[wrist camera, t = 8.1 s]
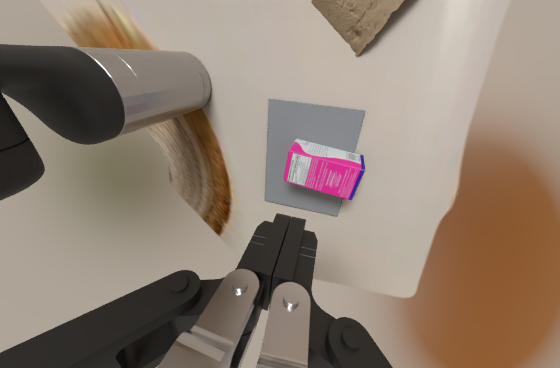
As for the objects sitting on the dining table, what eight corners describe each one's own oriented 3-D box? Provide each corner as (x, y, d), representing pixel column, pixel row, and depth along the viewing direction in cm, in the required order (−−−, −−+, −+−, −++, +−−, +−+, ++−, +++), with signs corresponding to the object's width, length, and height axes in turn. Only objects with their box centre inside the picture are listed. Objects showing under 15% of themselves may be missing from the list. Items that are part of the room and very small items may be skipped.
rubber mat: (265, 199, 46) (264, 200, 45) (269, 98, 35) (268, 99, 35) (337, 215, 43) (337, 216, 42) (365, 110, 33) (365, 111, 32)
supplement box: (351, 184, 38) (289, 166, 40) (363, 154, 35) (296, 135, 37) (351, 202, 34) (281, 181, 35) (366, 170, 30) (288, 147, 32)
